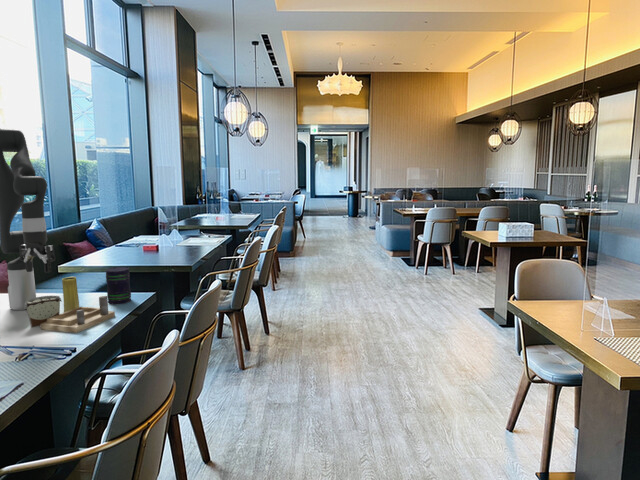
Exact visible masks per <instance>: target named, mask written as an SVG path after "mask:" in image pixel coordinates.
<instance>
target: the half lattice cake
mask: <svg viewBox="0 0 640 480" xmlns="http://www.w3.org/2000/svg"><path fill="white" fill-rule="evenodd" d="M61 302H63V301H62V298H61V297H60V296H59V295H42V296H36V298H32V299H29V300H27V301H26V303H25V307H27V309H26V311H27V314H28V319H29V324H30V328H31V329H34V328H38V327H41V325H40V324H42V323H45V322H47V319H48V318H51V317H53V316H56V315H59V314H61V313H60V311H61Z"/></svg>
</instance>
